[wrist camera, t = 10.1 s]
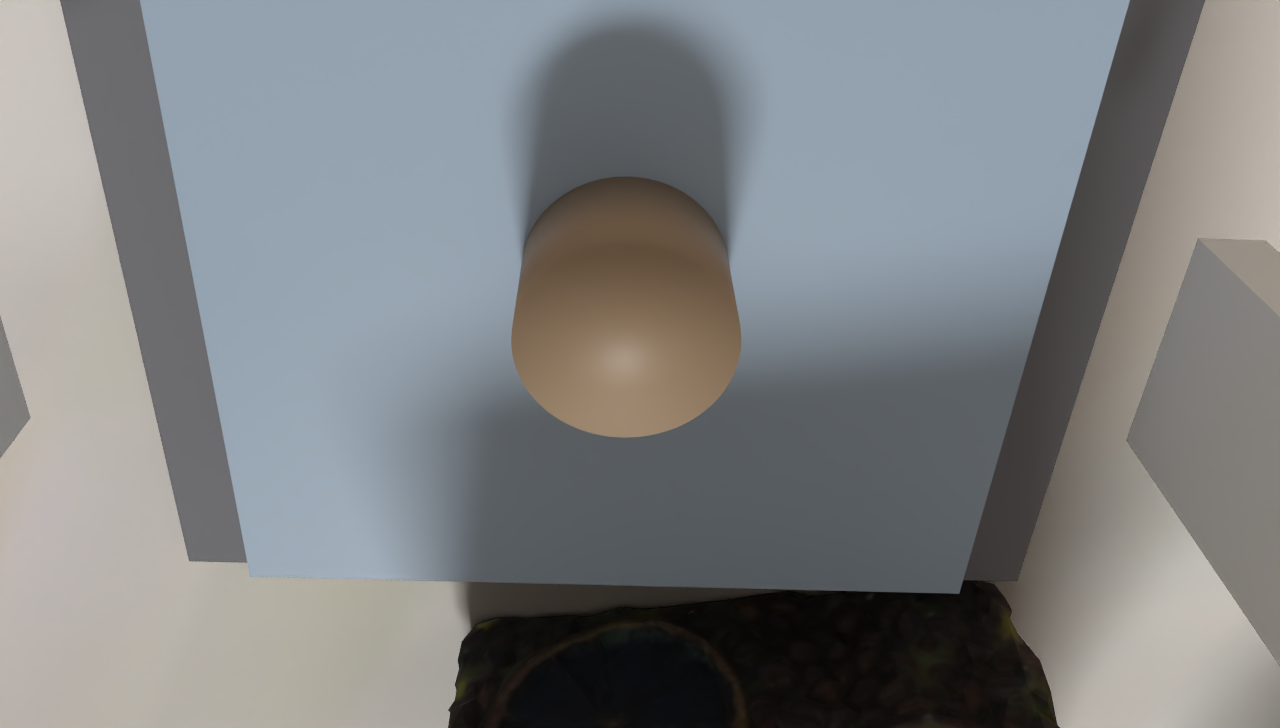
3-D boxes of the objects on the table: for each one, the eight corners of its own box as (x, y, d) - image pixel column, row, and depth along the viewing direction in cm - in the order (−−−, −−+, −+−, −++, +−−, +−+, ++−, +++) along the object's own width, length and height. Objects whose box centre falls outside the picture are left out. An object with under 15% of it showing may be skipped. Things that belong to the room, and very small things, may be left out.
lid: (291, 468, 17) (215, 665, 14) (180, -260, 12) (13, -222, 9) (920, 486, 18) (991, 681, 14) (1089, -208, 12) (1265, -153, 9)
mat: (200, 536, 19) (189, 561, 18) (-26, -497, 11) (-56, -503, 11) (1006, 557, 20) (1016, 581, 19) (1306, -408, 12) (1338, -411, 11)
